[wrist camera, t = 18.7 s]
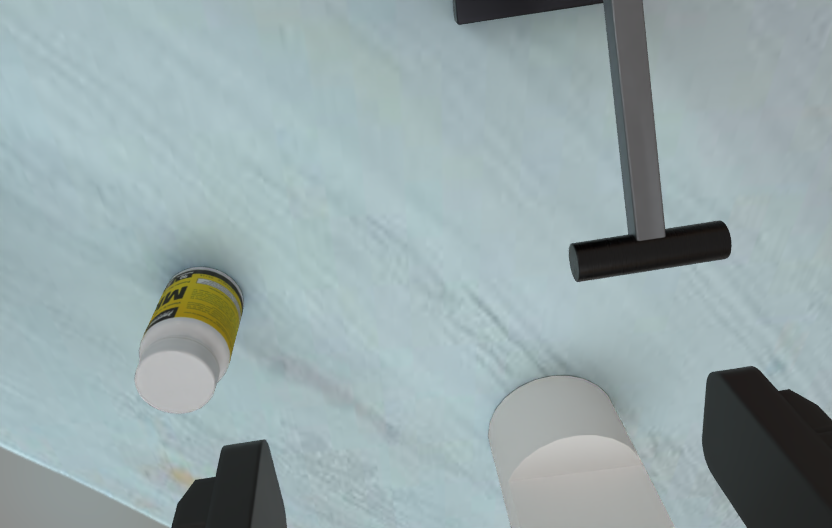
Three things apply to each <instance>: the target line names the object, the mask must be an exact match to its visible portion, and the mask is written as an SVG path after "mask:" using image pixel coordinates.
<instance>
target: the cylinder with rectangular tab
mask: <svg viewBox="0 0 832 528" xmlns="http://www.w3.org/2000/svg"><path fill="white" fill-rule="evenodd" d="M488 438H489V442H490V447H491V451H492V455H493V459H494V463H495V466H496V470H497V474H498V478H499V482H500V486H501V490H502V494H503V498H504V502H505V506H506V510H507V514H508V518H509V522H510V525H511V528H675V526H674V524H673V522H672V520H671V518H670V516H669V514H668V512H667V510H666V508H665V507H664V505H663V503H662V501H661V499H660V497H659V495H658V493H657V491H656V489H655V487H654V485H653V483H652V481H651V479H650V477H649V475H648V473H647V471H646V469H645V467H644V465H643V463H642V461H641V459H640V457H639V455H638V453H637V451H636V449H635V447H634V445H633V444H632V442H631V440H630V438H629V436H628V434H627V432H626V430H625V428H624V426H623V424H622V422H621V420H620V418H619V416H618V414H617V412H616V410H615V408H614V406H613V404H612V402H611V400H610V398H609V396H608V395H607V394H606V393H605V392H604V391H603V390H602V389H601V388H600V387H599V386H597V385H595V384H593V383H591V382H589V381H587V380H586V379H582V378H577V377H573V376H550V377H545V378H541V379H537V380H533V381H531V382H529V383H527V384H525V385H523V386H521V387H519V388H517V389H516V390H515V391H513V392H512V393H511V394H509V395H508V396H507V397H505V399H504V400H503V401H502V402H501V404H500V405H499V406H498V407H497V408H496V410H495V412H494V414H493V416H492V419H491V421H490V424H489V433H488Z"/></svg>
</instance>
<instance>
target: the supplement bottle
mask: <svg viewBox="0 0 832 528" xmlns="http://www.w3.org/2000/svg"><path fill="white" fill-rule="evenodd" d="M243 306H244V301H243V296H242V292H241V290H240V288H239V287H238V285H237V284H236V282H235V281H234V280H233V279H232V278H230V277H229V276H228V275H226V274H225V273H223V272H221V271H218V270H216V269H212V268H207V267H193V268H189V269H186V270H183V271H181V272H180V273H178V274H177V275H175V276H174V277H173V278H172V279H171V280H170V281H169V283H168V284H167V286H166V288H165V290H164V292H163V294H162V296H161V299H160V301H159V303H158V305H157V307H156V310H155V312H154V314H153V316H152V318H151V320H150V323H149V325H148V327H147V329H146V331H145V333H144V335H143V338H142V340H141V344H140V348H139V359H140V360H139V364H138V367H137V369H136V373H135V385H136V388H137V391H138V393H139V394H140V396H141V397H142V398H143V399H144V400H145V401H146V402H147V403H148V404H149V405H151V406H152V407H154V408H156V409H158V410H161V411H164V412H168V413H175V414H182V413H188V412H192V411H195V410H198V409H200V408H201V407H203V406H204V405H205V404H207V403H208V401H209V400H210V399H211V397H212V396H213V394H214V391H215V388H216V385H217V383H218V382H219V381H220V380H221V379H222V377H223V376H224V374H225V373H226V371H227V368H228V366H229V363H230V359H231V355H232V351H233V347H234V343H235V339H236V335H237V331H238V328H239V324H240V320H241V316H242V312H243Z"/></svg>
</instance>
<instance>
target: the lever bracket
mask: <svg viewBox="0 0 832 528" xmlns="http://www.w3.org/2000/svg"><path fill="white" fill-rule="evenodd" d="M600 3H603V0H453V8H454V18H455V21H456V23H457V24H458V25H461V24H468V23H474V22H481V21H487V20H494V19H501V18H507V17H514V16H520V15H527V14H534V13H540V12H547V11H553V10H560V9H567V8H573V7H580V6H586V5H593V4H600Z"/></svg>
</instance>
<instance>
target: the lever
mask: <svg viewBox="0 0 832 528" xmlns="http://www.w3.org/2000/svg"><path fill="white" fill-rule="evenodd" d="M603 3H604V12H605V21H606V31H607V40H608V49H609V59H610V68H611V77H612V87H613V96H614V105H615V115H616V124H617V133H618V143H619V152H620V161H621V171H622V180H623V189H624V199H625V208H626V217H627V227H628V235H623V236H616V237H610V238H604V239H597V240H591V241H584V242H578V243H572V244H570V247H569V261H570V267H571V271H572V274H573V277H574V279H575V281H577V282H581V281H587V280H594V279H600V278H607V277H613V276H619V275H626V274H632V273H639V272H645V271H651V270H658V269H664V268H671V267H677V266H683V265H690V264H696V263H703V262H709V261H715V260H722V259H726V258H728V257H729V255H730V253H731V237H730V233H729V230H728V228H727V226H726V224H725V223H724V222H722V221H713V222H706V223H700V224H694V225H687V226H681V227H674V228H668V229H665V223H664V213H663V203H662V193H661V183H660V173H659V163H658V153H657V142H656V132H655V122H654V112H653V102H652V92H651V82H650V72H649V62H648V52H647V42H646V31H645V21H644V11H643V1H642V0H603Z"/></svg>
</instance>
